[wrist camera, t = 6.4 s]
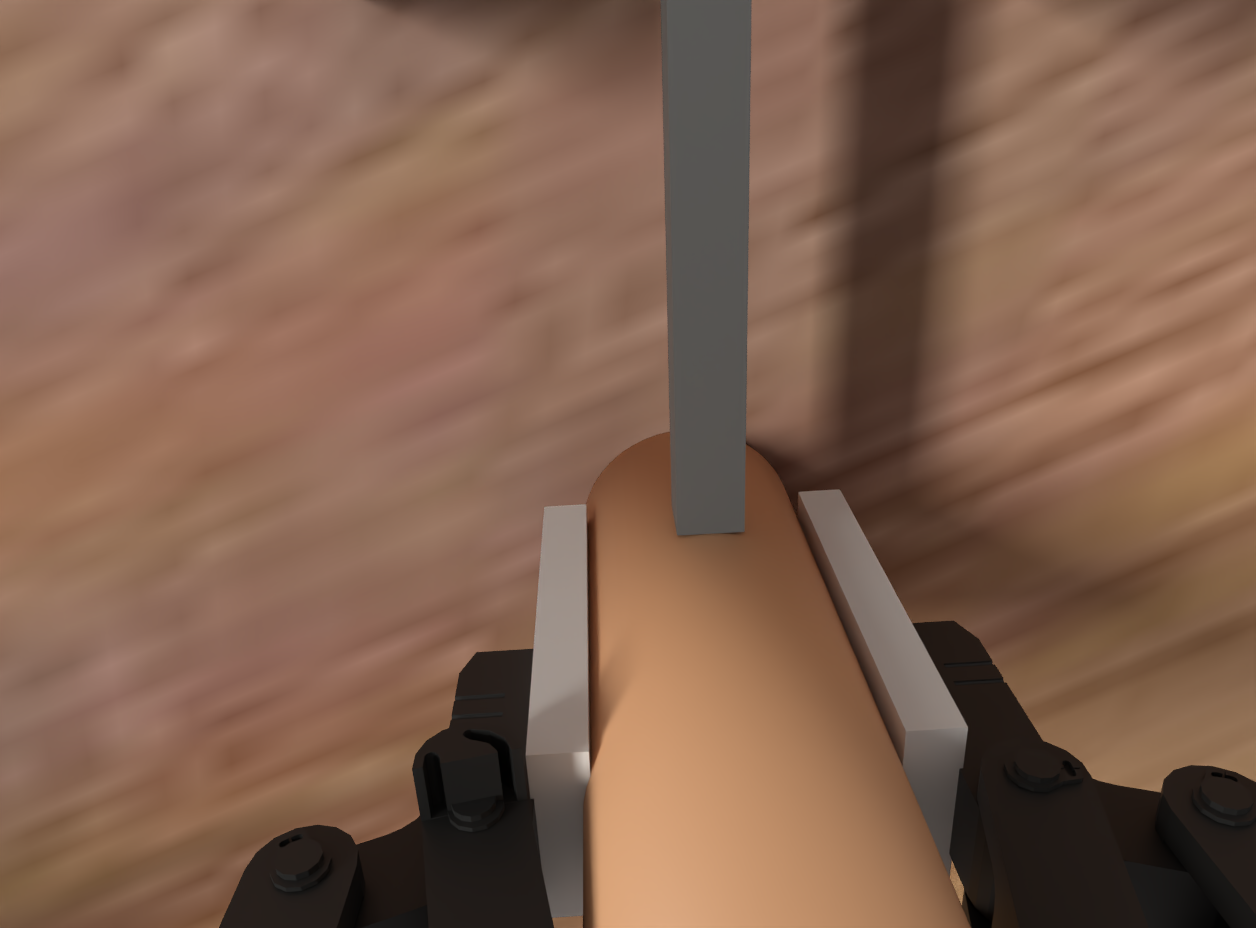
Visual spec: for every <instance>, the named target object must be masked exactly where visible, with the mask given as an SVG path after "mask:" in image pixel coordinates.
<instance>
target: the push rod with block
mask: <svg viewBox="0 0 1256 928" xmlns="http://www.w3.org/2000/svg"><path fill="white" fill-rule="evenodd" d="M661 40H662V86H663V132H664V178H665V224H666V270H667V317H668V363H669V409H670V432H667V433H663V434H659V435H656V436H653V437H650V438H647V439H645V440H643V441H641V442H639V443H637V444H635V445H633V446H631V447H630V448H628V449H627V450H625V451H624V452H622V453H621V454H620V455H618V456H617V457H616V458H615V459H614V460H613V461H612V462H611V463H610V464H609V465H608V466H607V467H606V468H605V469H604V471H603V472H602V473H601V474H600V476H599V477H598V479H597V480H596V482H595V483H594V486H593V488H592V490H591V492H590V494H589V497H588V500H587V503H586V508H587V522H588V599H589V689H590V778H589V781H588V784H587V787H586V792H585V797H584V803H583V928H971V927H970V924H969V922H968V920H967V917H966V915H965V913H964V910H963V908H962V906H961V903H960V901H959V898H958V896H957V894H956V891H955V889H954V887H953V884H952V882H951V880H950V877H949V875H948V873H947V870H946V868H945V865H944V863H943V861H942V858H941V856H940V854H939V851H938V849H937V847H936V844H935V842H934V839H933V837H932V835H931V832H930V830H929V828H928V825H927V823H926V821H925V818H924V816H923V814H922V811H921V809H920V806H919V804H918V802H917V799H916V797H915V795H914V792H913V790H912V788H911V785H910V783H909V780H908V778H907V776H906V773H905V771H904V769H903V766H902V764H901V762H900V759H899V757H898V755H897V752H896V750H895V747H894V745H893V743H892V740H891V738H890V736H889V733H888V731H887V729H886V726H885V724H884V721H883V719H882V717H881V714H880V712H879V710H878V707H877V705H876V703H875V700H874V698H873V696H872V693H871V691H870V688H869V686H868V684H867V681H866V679H865V677H864V674H863V672H862V670H861V667H860V665H859V662H858V660H857V658H856V655H855V653H854V651H853V648H852V646H851V644H850V641H849V639H848V637H847V634H846V632H845V629H844V627H843V625H842V622H841V620H840V618H839V615H838V613H837V611H836V608H835V606H834V603H833V601H832V599H831V596H830V594H829V592H828V589H827V587H826V585H825V582H824V580H823V578H822V575H821V573H820V570H819V568H818V566H817V563H816V561H815V559H814V556H813V554H812V552H811V549H810V547H809V544H808V542H807V540H806V537H805V535H804V533H803V530H802V528H801V526H800V523H799V521H798V519H797V516H796V514H795V511H794V509H793V507H792V504H791V502H790V500H789V497H788V495H787V493H786V490H785V488H784V485H783V484H782V482H781V480H780V478H779V476H778V474H777V473H776V471H775V470H774V469H773V467H772V466H771V465H770V463H769V462H768V461H767V460H766V459H765V458H764V457H763V456H762V455H761V454H759V453H758V452H757V451H755V450H754V449H753V448H751V447H750V446H748V445H746V384H747V306H748V229H749V151H750V74H751V0H661Z"/></svg>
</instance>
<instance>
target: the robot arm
mask: <svg viewBox="0 0 1256 928" xmlns="http://www.w3.org/2000/svg"><path fill="white" fill-rule="evenodd" d="M798 521H799V523H800V526H801V528H802V530H803V533H804V535H805V537H806V540H807V542H808V544H809V547H810V549H811V552H812V554H813V556H814V559H815V561H816V563H817V566H818V568H819V570H820V573H821V575H822V578H823V580H824V582H825V585H826V587H827V589H828V592H829V594H830V596H831V599H832V601H833V603H834V606H835V608H836V611H837V613H838V615H839V618H840V620H841V622H842V625H843V627H844V629H845V632H846V634H847V637H848V639H849V641H850V644H851V646H852V648H853V651H854V653H855V655H856V658H857V660H858V662H859V665H860V667H861V670H862V672H863V674H864V677H865V679H866V681H867V684H868V686H869V688H870V691H871V693H872V696H873V698H874V700H875V703H876V705H877V707H878V710H879V712H880V714H881V717H882V719H883V721H884V724H885V726H886V729H887V731H888V733H889V736H890V738H891V740H892V743H893V745H894V747H895V750H896V752H897V755H898V757H899V759H900V762H901V764H902V766H903V769H904V771H905V773H906V776H907V778H908V780H909V783H910V785H911V788H912V790H913V792H914V795H915V797H916V799H917V802H918V804H919V806H920V809H921V811H922V814H923V816H924V818H925V821H926V823H927V825H928V828H929V830H930V832H931V835H932V837H933V839H934V842H935V844H936V847H937V849H938V851H939V854H940V856H941V858H942V861H943V863H944V865H945V868H946V870H947V873H948V875H949V877H950V869H951V861H953V863H954V866H955V868H956V870H957V873H958V875H959V877H960V880H961V882H962V884H963V886H964V895H963V902H962V908H963V910H964V913H965V915H966V917H967V920H968V922H969V924H970V927H971V928H1256V782H1254V781H1252V780H1250V779H1248V778H1246V777H1244V776H1242V775H1240V774H1238V773H1236V772H1232V771H1228V770H1225V769H1221V768H1217V767H1213V766H1193V765H1191V766H1187V767H1183V768H1180V769H1176V770H1173V771H1172V772H1171V773H1170V774H1169V775H1168V776H1167V777H1166V778H1165V779H1164V782H1163V786H1162V790H1161V793H1160V792H1154V791H1148V790H1142V789H1136V788H1130V787H1124V786H1118V785H1113V784H1109V783H1105V782H1101V781H1097V780H1095V779H1092V777H1091V775H1090V774H1089V772H1088V771H1087V769H1086V768H1085V766H1084V765H1083V763H1082V762H1080V761H1079V760H1078V759H1076V758H1075V757H1074V756H1073V755H1071V754H1070V753H1069V752H1067V751H1066V750H1064V749H1061V748H1059V747H1057V746H1054V745H1052V744H1050V743H1047V742H1043V740H1042V739H1041V737H1040V735H1039V734H1038V732H1037V731H1036V729H1035V728H1034V726H1033V724H1032V723H1031V721H1030V720H1029V718H1028V716H1027V715H1026V713H1025V712H1024V710H1023V709H1022V707H1021V705H1020V704H1019V702H1018V701H1017V699H1016V697H1015V696H1014V694H1013V693H1012V691H1011V690H1010V688H1009V686H1008V685H1007V683H1004V681H1003V677H1002V675H1001V674H1000V672H999V671H998V669H997V667H996V666H995V665H993V664H992V659H991V658H990V656H989V655H988V653H987V652H986V650H985V648H984V647H983V645H982V644H981V642H980V640H979V639H978V638H977V637H975V636H974V635H972V634H971V633H970V632H968V631H967V630H966V629H964V628H963V627H961V626H960V625H959V624H957V623H956V622H955V621H941V622H925V623H912V622H911V620H910V619H909V617H908V615H907V613H906V611H905V609H904V607H903V606H902V604H901V602H900V600H899V598H898V596H897V594H896V593H895V591H894V589H893V587H892V585H891V583H890V581H889V580H888V578H887V576H886V574H885V572H884V570H883V568H882V567H881V565H880V563H879V561H878V559H877V557H876V555H875V554H874V552H873V550H872V548H871V546H870V544H869V542H868V541H867V539H866V537H865V535H864V533H863V531H862V529H861V528H860V526H859V524H858V522H857V520H856V518H855V516H854V515H853V513H852V511H851V509H850V507H849V505H848V503H847V502H846V500H845V498H844V496H843V494H842V492H841V490H840V489H837V490H820V491H803V492H798ZM412 771H413V776H414V782H415V788H416V794H417V799H418V805H419V811H420V816H419V817H418V818H417V819H416V820H415V821H413V822H411V823H410V824H408V825H407V826H405V827H404V828H402V829H400V830H397V831H395V832H393V833H390V834H388V835H385V836H382V837H379V838H376V839H373V840H370V841H367V842H364V843H360V844H357V845H356V844H355V843H354V841H353V839H352V837H351V835H349V834H347V833H345V832H344V831H342V830H340V829H338V828H337V827H330V826H322V825H314V826H308V827H302V828H296V829H294V830H291V831H289V832H287V833H285V834H282V835H280V836H278V837H276V838H274V839H273V840H271V841H270V842H269V843H268V844H266V845H265V846H264V847H263V848H261V849H260V850H259V851H258V852H257V853H256V854H255V856H254V857H253V858H252V860H251V861H250V863H249V864H248V866H247V867H246V869H245V871H244V873H243V875H242V877H241V880H240V882H239V884H238V886H237V889H236V891H235V893H234V895H233V898H232V900H231V902H230V904H229V907H228V909H227V911H226V913H225V915H224V918H223V920H222V922H221V924H220V927H219V928H554V925H553V921H552V918H554V917H569V916H583V803H584V797H585V792H586V787H587V784H588V781H589V778H590V689H589V599H588V522H587V508H586V504H582V505H565V506H548V507H544V517H543V531H542V544H541V557H540V571H539V584H538V597H537V610H536V624H535V637H534V649H523V650H507V651H491V652H476V654H475V655H474V656H473V657H472V659H471V660H470V661H469V662H468V663H467V665H466V666H465V667H464V668H463V670H462V671H461V672H460V673H459V678H458V684H457V689H456V695H455V701H454V706H453V711H452V720H451V722H450V727H449V729H445V730H443V731H441V732H439V733H438V734H436V735H435V736H433V737H432V738H430V739H429V740H427V741H426V742H425V743H424V745H423V746H422V747H421V748H420V749H419V751H418V752H417V753H416V755H415V759H414V763H413V768H412Z"/></svg>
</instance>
